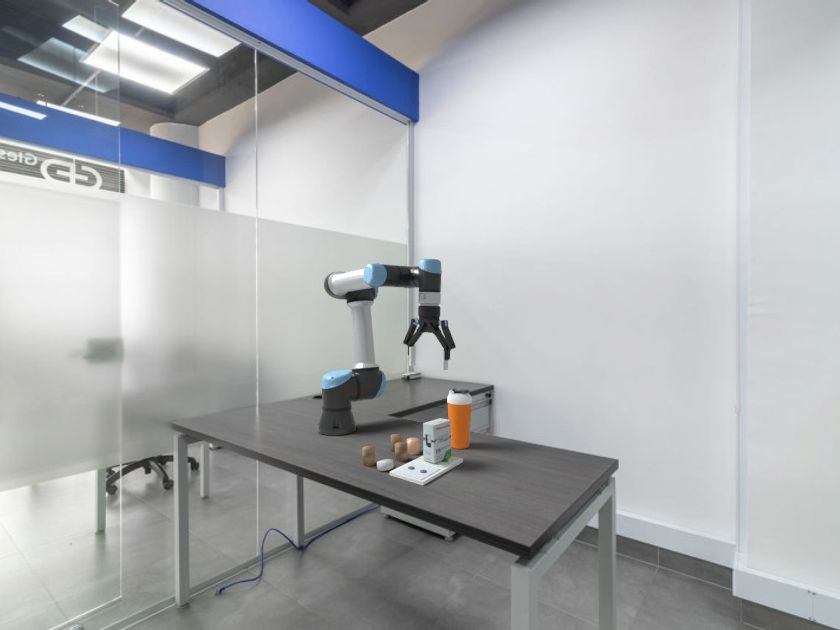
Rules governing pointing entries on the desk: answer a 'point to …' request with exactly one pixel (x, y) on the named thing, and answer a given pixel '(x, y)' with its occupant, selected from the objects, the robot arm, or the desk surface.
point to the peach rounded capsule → (413, 446)
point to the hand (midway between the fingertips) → (427, 367)
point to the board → (424, 469)
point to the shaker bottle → (459, 417)
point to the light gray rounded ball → (385, 465)
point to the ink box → (436, 440)
